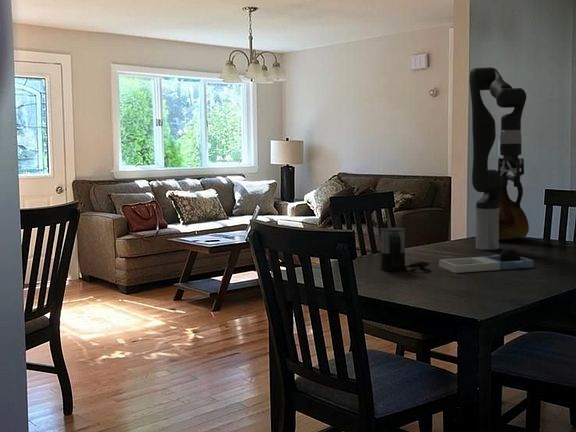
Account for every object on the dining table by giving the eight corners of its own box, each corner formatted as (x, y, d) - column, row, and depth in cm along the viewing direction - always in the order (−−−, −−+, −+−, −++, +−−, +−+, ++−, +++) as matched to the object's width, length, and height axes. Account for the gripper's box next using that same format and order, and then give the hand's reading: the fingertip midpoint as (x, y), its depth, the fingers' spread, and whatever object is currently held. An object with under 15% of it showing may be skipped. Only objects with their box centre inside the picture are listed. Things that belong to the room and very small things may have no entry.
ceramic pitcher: (492, 235, 314) (492, 173, 311) (535, 238, 301) (535, 173, 298) (475, 241, 299) (475, 175, 296) (519, 244, 286) (520, 175, 283)
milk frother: (375, 267, 241) (375, 227, 239) (414, 264, 245) (413, 225, 244) (393, 274, 227) (392, 232, 226) (433, 270, 232) (433, 229, 230)
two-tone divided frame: (436, 265, 241) (436, 258, 241) (510, 260, 247) (510, 253, 247) (457, 273, 225) (457, 266, 225) (536, 268, 231) (536, 260, 231)
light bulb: (528, 256, 231) (502, 244, 236) (520, 272, 231) (494, 260, 237) (532, 257, 236) (506, 245, 241) (524, 273, 237) (499, 261, 242)
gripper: (530, 142, 237) (530, 186, 239) (509, 142, 251) (509, 184, 253) (511, 142, 236) (511, 187, 237) (491, 143, 249) (491, 185, 251)
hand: (510, 186), depth 245 cm, fingers open, 8 cm apart
